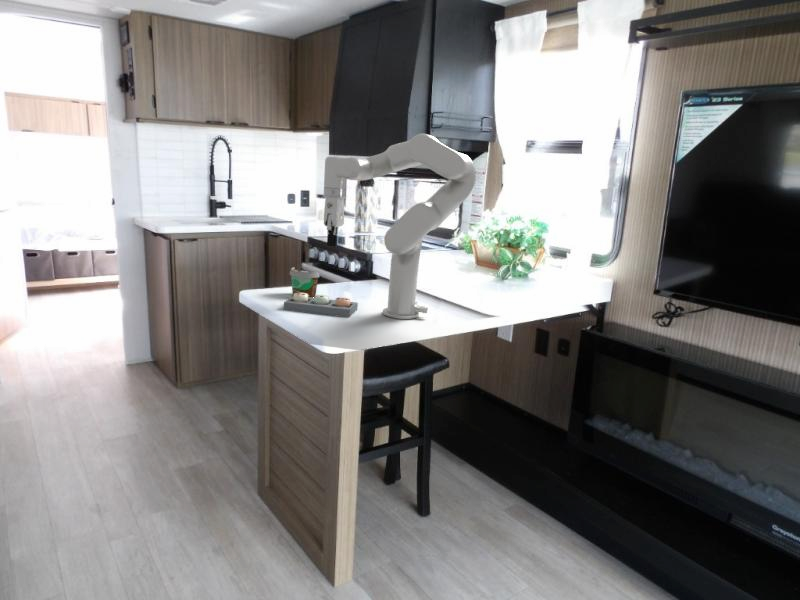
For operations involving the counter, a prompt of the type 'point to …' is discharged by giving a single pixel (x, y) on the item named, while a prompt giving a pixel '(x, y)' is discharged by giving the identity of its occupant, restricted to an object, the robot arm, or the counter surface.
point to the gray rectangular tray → (320, 307)
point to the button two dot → (300, 297)
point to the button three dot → (342, 302)
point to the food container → (304, 282)
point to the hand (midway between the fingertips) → (331, 245)
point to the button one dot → (321, 299)
